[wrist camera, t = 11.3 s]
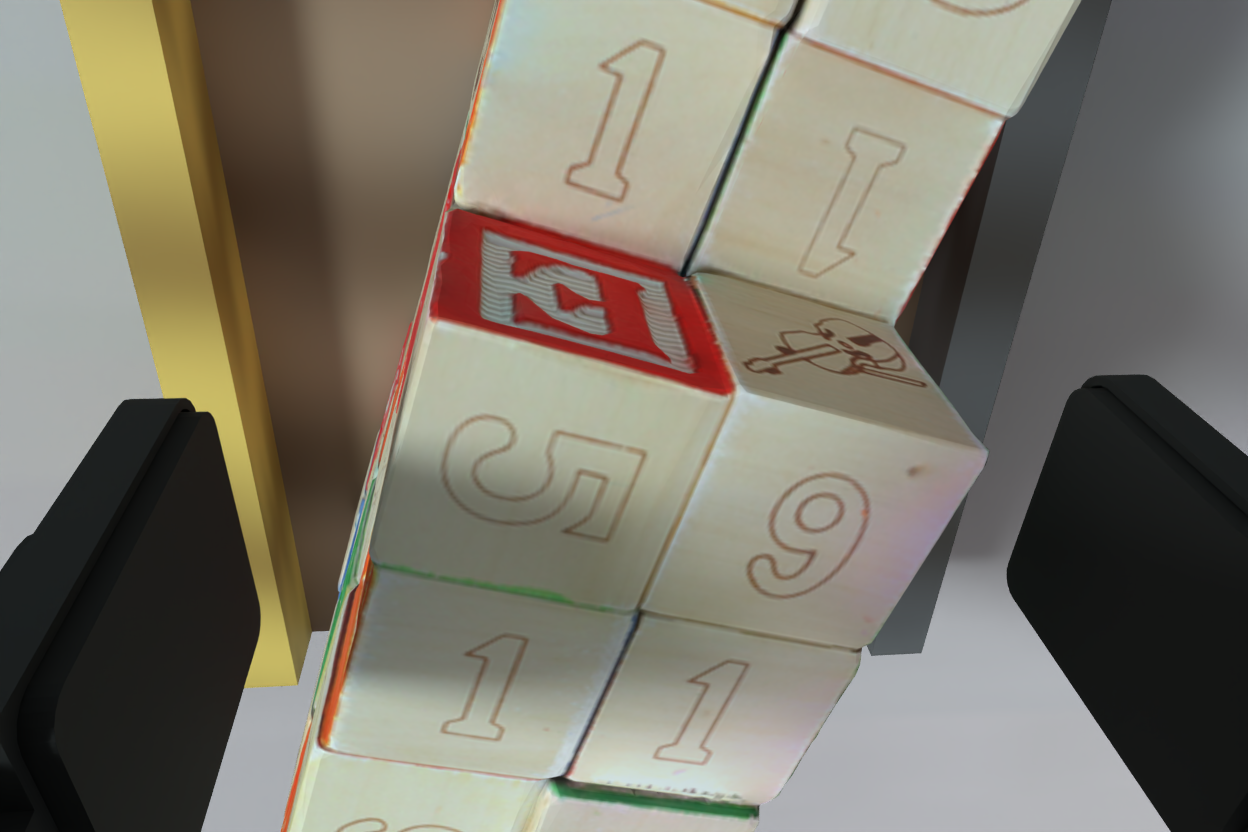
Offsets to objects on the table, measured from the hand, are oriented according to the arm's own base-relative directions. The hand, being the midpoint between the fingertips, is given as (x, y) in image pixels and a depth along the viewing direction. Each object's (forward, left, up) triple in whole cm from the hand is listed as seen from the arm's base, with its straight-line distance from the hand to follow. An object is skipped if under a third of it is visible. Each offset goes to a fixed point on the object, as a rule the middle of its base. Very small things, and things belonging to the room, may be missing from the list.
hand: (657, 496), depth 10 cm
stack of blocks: (0, 0, -12) cm, 12 cm away
